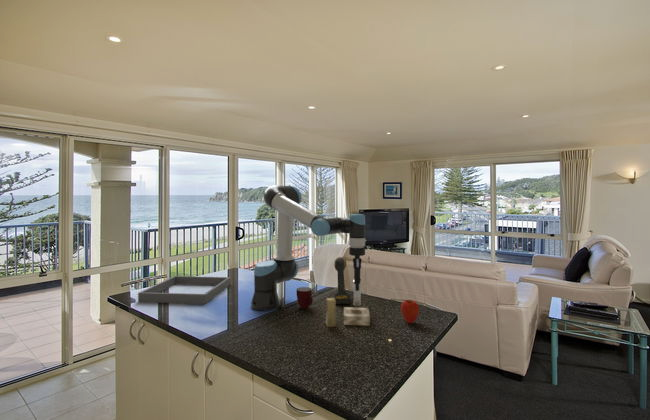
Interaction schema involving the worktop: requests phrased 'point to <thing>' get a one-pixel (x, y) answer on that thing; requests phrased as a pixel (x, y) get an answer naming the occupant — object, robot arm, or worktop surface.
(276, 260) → the robot arm
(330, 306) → the square bit
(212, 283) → the frame
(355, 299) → the round bit
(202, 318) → the worktop surface
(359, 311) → the bore block
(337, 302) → the cordless drill
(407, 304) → the apple
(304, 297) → the mug
